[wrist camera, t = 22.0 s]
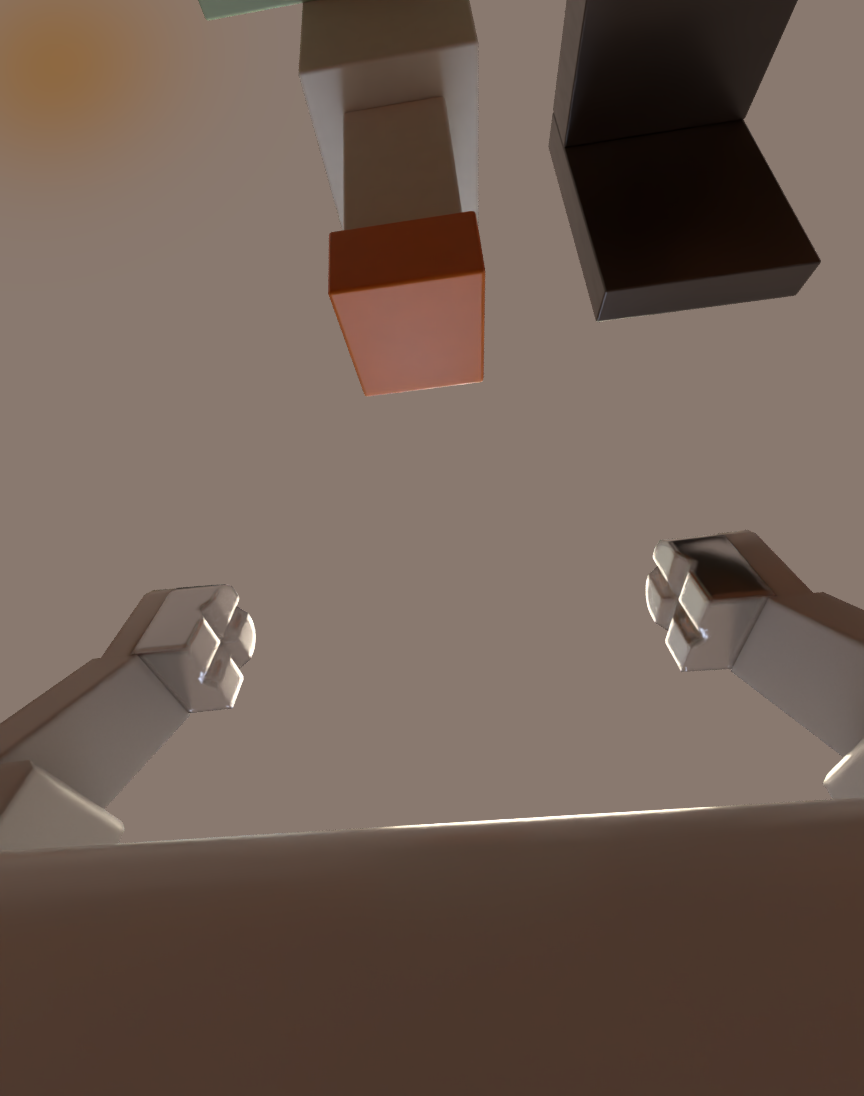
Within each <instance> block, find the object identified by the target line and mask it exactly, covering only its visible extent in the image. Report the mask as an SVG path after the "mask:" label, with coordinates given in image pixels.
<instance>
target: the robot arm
mask: <svg viewBox="0 0 864 1096" xmlns="http://www.w3.org/2000/svg"><path fill="white" fill-rule="evenodd" d="M653 558H654V560H655V562H656V564H657V565H658V566H657V567H656V568H655V569H654V570H653V571H652V572H651V573H650V574H648V577H647V583H646V588H645V590H646V601H647V605H648V608H649V612H650V614H651V616H652V618H653V619H654V622H655V623H656V624H658V625H660V626H661V627H663V628H665V629H666V630H667V631H668V634H667V637H666V641H665V642H666V644H667V646H668V648H669V650H670V652H671V654H672V655H673V657H674V659H675V661H676V663H677V665H678V667H679V668H680V670H681V672H683V671H701V670H719V669H732V670H731V672H733V673H734V674H735V675H737V676H738V677H739V678H741V679H742V680H743V681H744V682H746V683H747V684H749V685H750V686H751V687H752V688H754V689H755V690H756V691H757V692H759V693H760V694H761V695H763V696H764V697H765V698H767V699H768V700H769V701H771V702H772V703H773V704H775V705H776V706H777V707H779V708H780V709H781V710H782V711H784V712H785V713H786V714H788V715H789V716H790V717H792V718H793V719H794V720H795V721H797V722H798V723H800V724H801V725H802V726H803V727H805V728H806V729H807V730H809V731H810V732H811V733H813V734H814V735H815V736H816V737H818V738H819V739H820V740H822V741H823V742H824V743H826V744H827V745H828V746H829V747H831V748H832V749H834V750H835V751H836V752H838V753H839V754H840V755H841V756H843V757H844V758H843V759H842V760H841V761H840V762H839V763H838V764H837V765H836V766H835V767H834V768H833V769H832V770H831V771H830V772H829V773H828V775H827V776H826V778H825V780H824V782H823V784H824V786H825V788H826V789H827V791H828V792H829V794H830V795H831V797H832V798H833V799H830V800H814V801H797V802H781V803H765V804H749V805H733V806H716V807H700V808H685V809H668V810H651V811H636V812H622V813H621V812H619V813H603V814H587V815H571V816H554V817H539V818H523V819H507V820H489V821H473V822H457V823H442V824H425V825H408V826H392V827H377V828H360V829H345V830H327V831H312V832H295V833H281V834H280V833H279V834H263V835H248V836H231V837H216V838H199V839H184V840H167V841H150V842H134V843H119V841H120V838H121V836H122V834H123V832H124V830H125V829H124V826H123V823H122V821H120V820H119V819H117V818H116V817H114V816H113V815H111V814H110V813H108V812H107V811H105V810H104V809H105V808H106V807H107V806H108V805H109V803H110V802H111V801H112V800H113V799H114V798H115V797H116V796H117V795H118V794H119V792H120V791H121V790H122V789H123V788H124V787H125V786H126V785H127V784H128V783H129V782H130V780H131V779H132V778H133V777H134V776H135V775H136V774H137V773H138V772H139V771H140V770H141V768H142V767H143V766H144V765H145V764H146V763H147V762H148V761H149V760H150V759H151V757H152V756H153V755H154V754H155V753H156V752H157V751H158V750H159V749H160V748H161V747H162V745H163V744H164V743H165V742H166V741H167V740H168V739H169V738H170V737H171V736H172V734H173V733H174V732H175V731H176V730H177V729H178V728H179V727H180V726H181V725H182V723H183V722H184V721H185V720H186V719H187V718H188V717H189V716H190V714H189V713H194V712H203V711H211V710H212V711H213V710H221V709H231V708H233V705H234V703H235V700H236V697H237V694H238V692H239V689H240V686H241V684H242V681H243V675H242V673H241V671H240V668H241V667H242V666H243V665H244V664H246V663H247V662H248V661H249V660H250V659H251V656H252V653H253V650H254V648H255V633H256V632H255V628H254V624H253V621H252V619H251V617H250V616H249V614H248V613H247V612H245V611H243V610H242V609H240V608H239V607H237V603H238V601H239V596H238V595H237V593H236V591H235V590H234V588H233V587H232V586H230V585H226V584H222V585H209V586H196V587H183V588H176V589H164V590H153V591H151V592H149V593H147V594H145V595H144V596H143V598H142V599H141V601H140V602H139V604H138V605H137V607H136V608H135V609H134V611H133V612H132V614H131V615H130V617H129V618H128V620H127V621H126V622H125V624H124V625H123V627H122V628H121V630H120V631H119V633H118V634H117V636H116V637H115V638H114V640H113V641H112V643H111V644H110V646H109V647H108V648H107V650H106V651H105V653H104V654H103V656H102V657H101V658H97V659H92V660H91V661H89V662H88V663H86V664H85V665H83V666H82V667H80V668H79V669H78V670H76V671H75V672H73V673H72V674H70V675H69V676H68V677H66V678H65V679H63V680H62V681H61V682H59V683H58V684H56V685H55V686H53V687H52V688H50V689H49V690H48V691H46V692H45V693H43V694H42V695H40V696H39V697H38V698H36V699H35V700H33V701H32V702H30V703H29V704H28V705H26V706H25V707H23V708H22V709H21V710H19V711H18V712H17V713H15V714H13V715H12V716H11V717H9V718H8V719H6V720H5V721H3V722H2V723H1V724H0V1096H864V610H862V609H860V608H858V607H855V606H853V605H851V604H849V603H846V602H844V601H842V600H839V599H837V598H835V597H833V596H831V595H828V594H826V593H824V592H821V593H813V592H812V591H811V590H810V589H809V588H808V587H807V586H806V585H805V584H804V583H803V582H802V581H801V580H800V579H799V578H798V577H797V576H796V575H795V574H794V573H793V572H792V571H791V570H790V569H789V568H788V567H787V565H786V564H785V563H784V562H783V561H782V560H781V559H780V558H779V557H778V556H777V555H776V554H775V553H774V552H773V551H772V550H771V549H770V548H769V547H768V546H767V545H766V544H765V543H764V542H763V540H762V539H761V538H759V536H758V535H757V534H755V533H753V532H751V531H749V530H744V531H735V532H727V533H719V534H717V535H705V536H695V537H686V538H677V539H668V540H660V541H659V543H658V544H657V545H656V547H655V550H654V554H653Z"/></svg>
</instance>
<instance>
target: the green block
mask: <svg viewBox="0 0 864 1096" xmlns="http://www.w3.org/2000/svg"><path fill="white" fill-rule="evenodd" d="M198 1H199V3H200V6H201V8H202V11H203V14H204V16H205V18H206V19H207V20H214V19H219V18H224V17H230V16H235V15H240V14H246V13H251V12H256V11H262V10H267V9H272V8H278V7H283V6H288V5H294V4H299V3H304V2H310V1H315V0H198Z"/></svg>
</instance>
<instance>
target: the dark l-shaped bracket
mask: <svg viewBox="0 0 864 1096" xmlns="http://www.w3.org/2000/svg"><path fill="white" fill-rule="evenodd" d="M797 1H798V0H567V2H566V10H565V18H564V26H563V34H562V35H563V36H562V43H561V51H560V59H559V67H558V75H557V83H556V91H555V99H554V108H553V111H554V112H553V116H552V123H551V131H550V139H549V150H550V154H551V158H552V161H553V165H554V169H555V172H556V176H557V179H558V183H559V187H560V190H561V194H562V198H563V202H564V205H565V209H566V213H567V216H568V220H569V223H570V227H571V231H572V234H573V238H574V242H575V246H576V249H577V253H578V257H579V260H580V264H581V268H582V271H583V275H584V278H585V282H586V286H587V289H588V293H589V297H590V300H591V304H592V308H593V312H594V315H595V319H596V321H597V322H601V321H609V320H616V319H623V318H631V317H639V316H646V315H654V314H661V313H668V312H676V311H683V310H690V309H699V308H705V307H713V306H721V305H728V304H736V303H743V302H751V301H758V300H766V299H772V298H781V297H788V296H794V295H796V294H797V293H798V292H799V290H800V289H801V288H802V286H803V285H804V284H805V282H806V281H807V280H808V279H809V277H810V276H811V275H812V273H813V272H814V271H815V269H816V268H817V267H818V265H819V264H820V262H821V260H820V258H819V257H818V255H817V253H816V251H815V249H814V247H813V245H812V244H811V242H810V240H809V238H808V237H807V235H806V233H805V231H804V229H803V227H802V226H801V224H800V222H799V220H798V218H797V216H796V215H795V213H794V211H793V209H792V207H791V205H790V204H789V202H788V200H787V198H786V196H785V195H784V193H783V191H782V189H781V187H780V185H779V184H778V182H777V180H776V178H775V177H774V175H773V173H772V171H771V169H770V167H769V165H768V164H767V162H766V160H765V158H764V156H763V154H762V153H761V151H760V149H759V147H758V146H757V144H756V142H755V140H754V138H753V136H752V135H751V133H750V131H749V129H748V127H747V125H746V124H745V122H744V120H743V119H744V118H745V117H746V115H747V112H748V110H749V108H750V105H751V103H752V101H753V99H754V97H755V95H756V92H757V90H758V88H759V85H760V83H761V81H762V79H763V77H764V74H765V72H766V70H767V68H768V65H769V63H770V61H771V59H772V57H773V54H774V52H775V50H776V48H777V45H778V43H779V41H780V39H781V36H782V34H783V32H784V30H785V28H786V25H787V23H788V21H789V19H790V16H791V14H792V12H793V10H794V7H795V5H796V3H797Z"/></svg>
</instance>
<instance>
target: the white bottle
mask: <svg viewBox="0 0 864 1096" xmlns="http://www.w3.org/2000/svg"><path fill="white" fill-rule="evenodd" d="M299 78H300V82H301V85H302V88H303V92H304V96H305V99H306V103H307V106H308V110H309V114H310V117H311V120H312V124H313V128H314V131H315V135H316V138H317V142H318V146H319V149H320V152H321V156H322V160H323V163H324V167H325V170H326V174H327V177H328V181H329V185H330V188H331V191H332V195H333V198H334V202H335V205H336V209H337V213H338V217H339V220H340V224H341V227H342V231H337V232H331V233H330V234H329V279H328V294H329V297H330V300H331V302H332V305H333V308H334V311H335V313H336V316H337V319H338V322H339V325H340V328H341V330H342V333H343V336H344V339H345V342H346V344H347V347H348V350H349V353H350V356H351V358H352V361H353V364H354V367H355V370H356V372H357V375H358V378H359V381H360V384H361V386H362V389H363V392H364V394H365V396H375V395H383V394H391V393H399V392H406V391H414V390H422V389H429V388H438V387H446V386H453V385H461V384H469V383H477V382H482V381H483V377H484V376H483V375H484V315H485V313H484V312H485V267H484V261H483V254H482V249H481V242H480V236H479V230H478V40H477V35H476V30H475V25H474V21H473V16H472V11H471V7H470V1H469V0H315V1H310V2H304V3H303V11H302V27H301V44H300V60H299Z"/></svg>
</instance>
